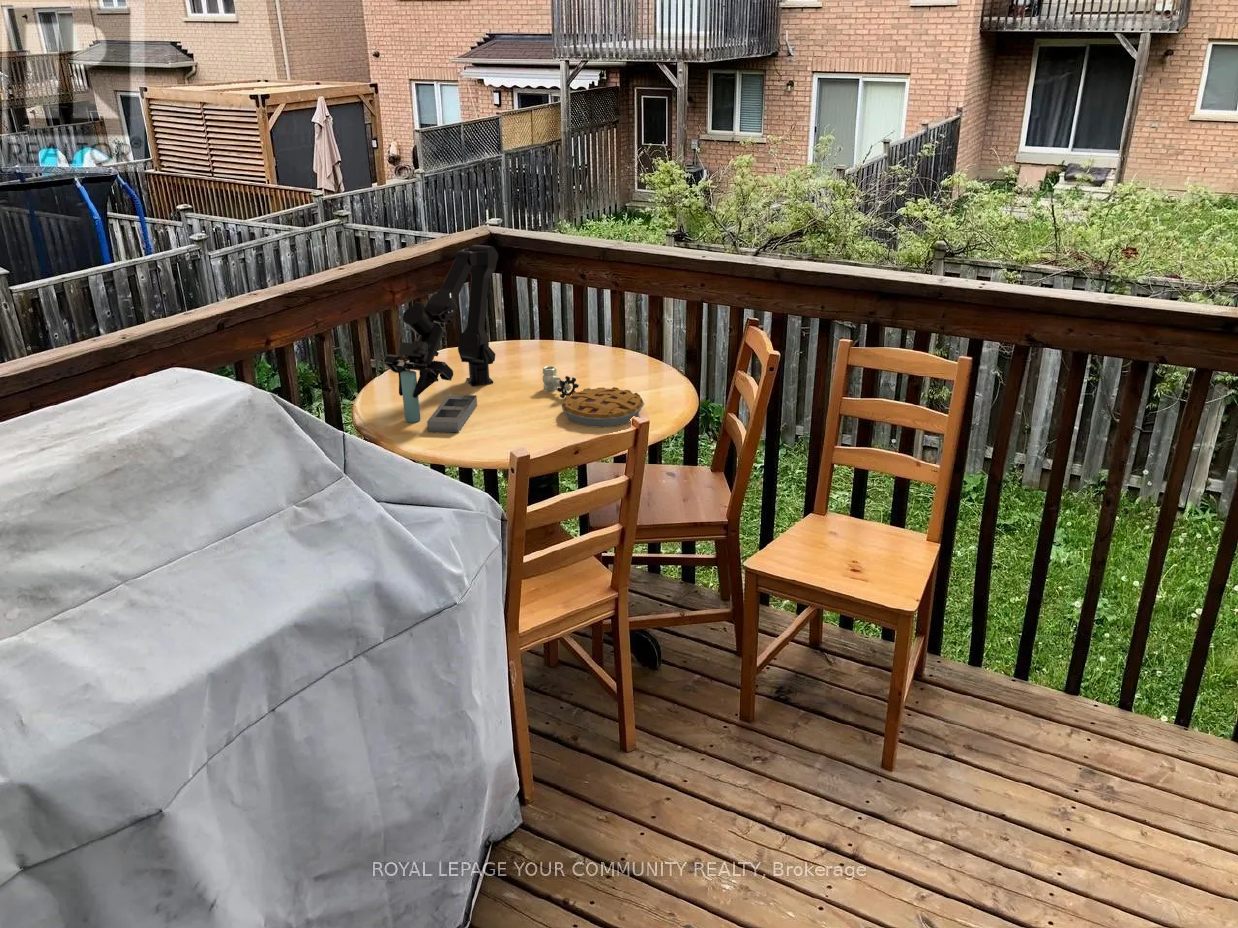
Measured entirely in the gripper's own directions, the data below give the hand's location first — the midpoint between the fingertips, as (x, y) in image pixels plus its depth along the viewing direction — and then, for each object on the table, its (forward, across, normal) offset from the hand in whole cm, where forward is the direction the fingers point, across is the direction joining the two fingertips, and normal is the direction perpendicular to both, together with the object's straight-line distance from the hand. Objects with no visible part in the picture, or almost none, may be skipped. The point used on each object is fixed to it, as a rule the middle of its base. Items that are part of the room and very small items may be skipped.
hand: (407, 396), depth 260 cm
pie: (-12, +45, +23) cm, 52 cm away
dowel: (+4, 0, +6) cm, 7 cm away
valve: (-19, +26, +30) cm, 44 cm away
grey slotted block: (+1, +9, +10) cm, 13 cm away
